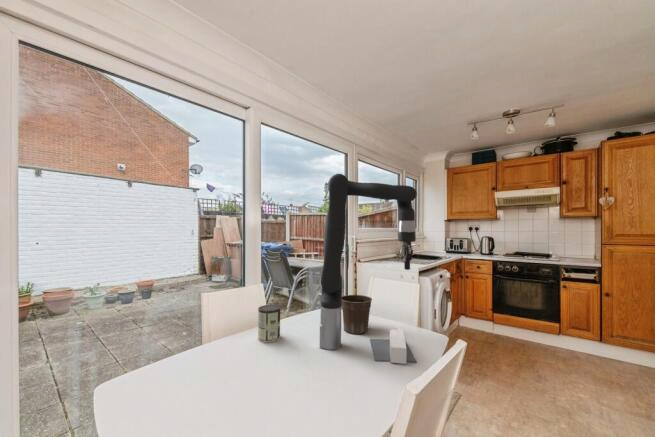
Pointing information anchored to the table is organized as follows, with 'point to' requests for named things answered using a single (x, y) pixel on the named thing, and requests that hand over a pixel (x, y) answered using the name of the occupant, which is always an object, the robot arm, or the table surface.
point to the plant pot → (356, 313)
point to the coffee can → (269, 323)
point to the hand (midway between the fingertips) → (407, 269)
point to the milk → (397, 346)
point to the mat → (387, 351)
